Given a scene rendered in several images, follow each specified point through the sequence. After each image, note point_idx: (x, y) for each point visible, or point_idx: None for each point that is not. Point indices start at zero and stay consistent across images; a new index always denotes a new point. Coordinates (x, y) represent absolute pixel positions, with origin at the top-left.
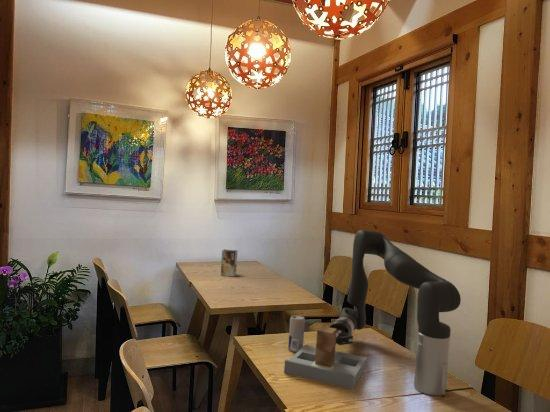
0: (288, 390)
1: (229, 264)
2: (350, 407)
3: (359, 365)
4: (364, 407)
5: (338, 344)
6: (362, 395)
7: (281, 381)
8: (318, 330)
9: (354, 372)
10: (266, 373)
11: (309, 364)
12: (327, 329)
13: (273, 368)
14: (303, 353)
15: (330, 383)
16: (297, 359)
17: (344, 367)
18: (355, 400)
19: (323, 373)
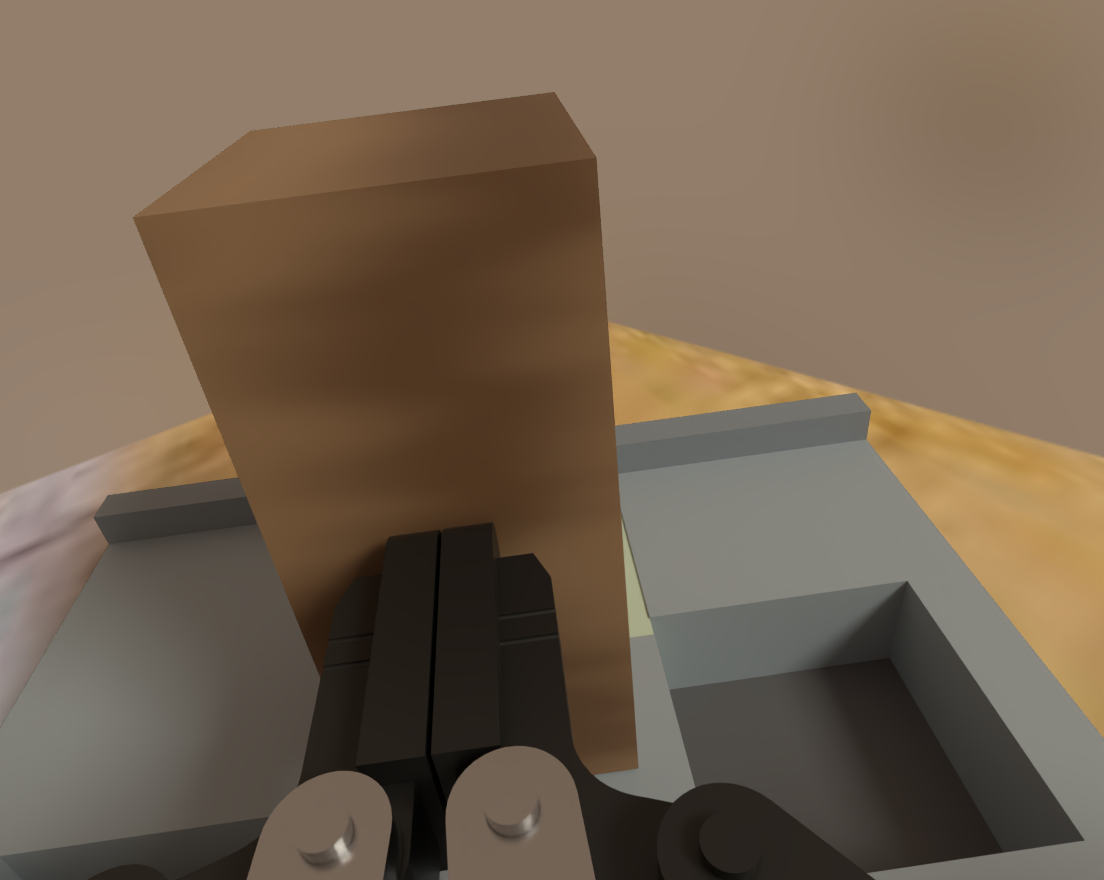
0: (614, 367)
1: None
2: (199, 418)
3: None
4: (103, 454)
5: None
6: (81, 561)
7: (734, 408)
8: (533, 98)
9: (69, 663)
10: (928, 424)
11: (643, 532)
12: (379, 146)
13: (993, 508)
14: (1053, 858)
15: None
16: (852, 554)
17: (199, 718)
18: (155, 484)
19: None
